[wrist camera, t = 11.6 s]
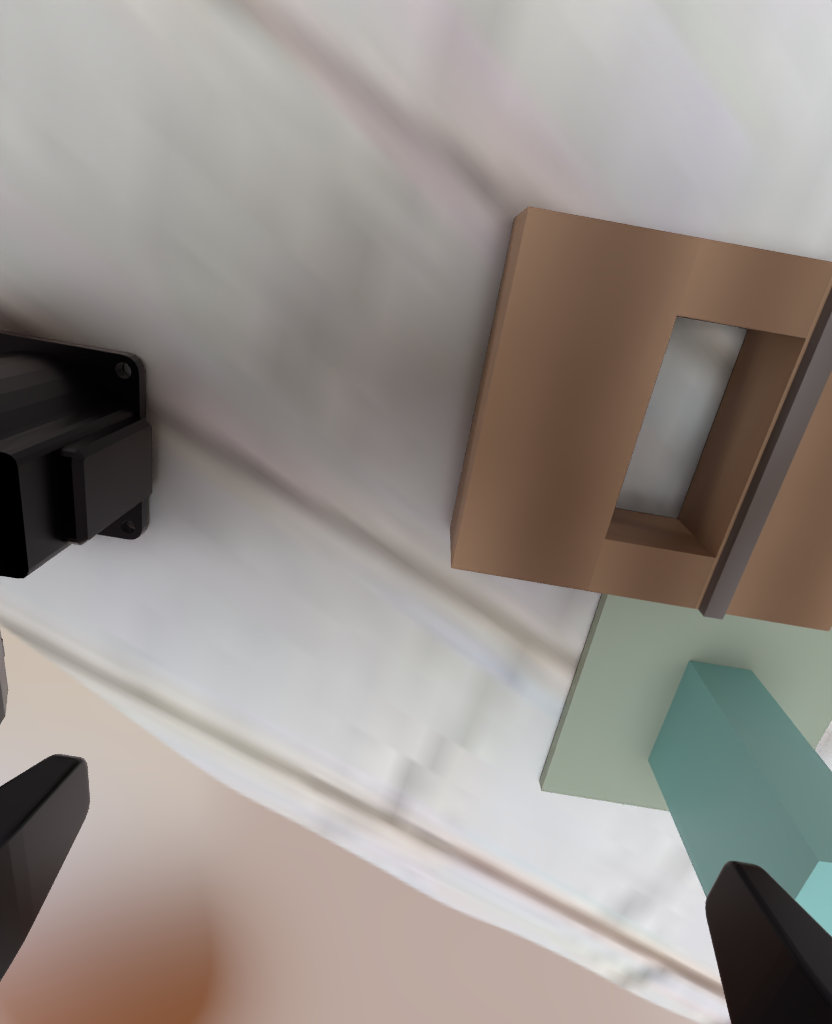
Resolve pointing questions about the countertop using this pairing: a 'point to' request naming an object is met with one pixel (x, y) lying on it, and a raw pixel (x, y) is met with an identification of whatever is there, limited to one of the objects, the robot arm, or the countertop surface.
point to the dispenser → (620, 412)
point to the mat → (670, 690)
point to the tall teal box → (746, 785)
